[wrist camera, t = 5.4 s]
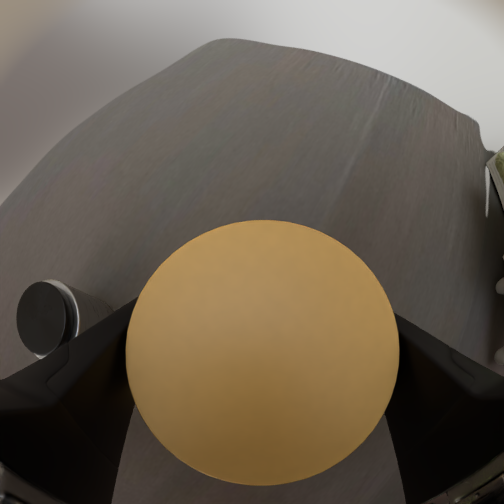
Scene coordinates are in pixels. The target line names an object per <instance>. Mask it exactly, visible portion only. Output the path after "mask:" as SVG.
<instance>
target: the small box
mask: <svg viewBox="0 0 504 504" xmlns="http://www.w3.org/2000/svg"><path fill="white" fill-rule="evenodd" d="M501 152H504V146H503V147H502V148H501V150H500V151H498V152H497V153H496V154H495V155H494V156H493V157H492V158H491V159H490V160H489V161H488V162H487V163H486V165H487V167H488V168H489V170H490V173H491V175H492V178H493V180H494V183H495V185H496V188H497V191H498V194H499V197H500V200H501V203H502V206H503V209H504V184H503V180H502V178H501V177H500V175H499V172H498V171H497V169H496V166H495V158H496V157H497V154H498V153H501Z"/></svg>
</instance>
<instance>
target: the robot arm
mask: <svg viewBox="0 0 504 504" xmlns="http://www.w3.org/2000/svg"><path fill="white" fill-rule="evenodd" d="M138 298H139V297H137V298H136V299H134V300H132V301H131V302H129V303H128V304H126V305H124V306H123V307H121V308H120V309H118V310H117V311H115V312H114V313H112V314H110V315H109V316H107V317H106V318H104V319H103V320H101V321H100V322H98V323H96V324H95V325H93V326H92V327H90V328H89V329H87V330H86V331H84V332H83V333H81V334H79V335H78V336H76V337H75V338H73V339H72V340H70V341H69V342H68V343H66V344H64V345H63V346H61V347H60V348H58V349H57V350H55V351H53V352H52V353H50V354H49V355H47V356H45V357H44V358H42V359H40V360H38V361H37V362H35V363H33V364H31V365H29V366H28V367H26V368H24V369H22V370H20V371H18V372H17V373H15V374H13V375H11V376H9V377H7V378H5V379H2V380H0V504H111V502H112V497H113V492H114V487H115V482H116V477H117V472H118V467H119V463H120V459H121V454H122V450H123V446H124V442H125V438H126V434H127V430H128V426H129V423H130V419H131V415H132V412H133V408H134V405H135V402H134V399H133V396H132V392H131V389H130V386H129V382H128V376H127V370H126V340H127V332H128V327H129V323H130V319H131V316H132V312H133V310H134V307H135V305H136V302H137V300H138ZM393 313H394V312H393ZM394 316H395V320H396V325H397V330H398V337H399V367H398V373H397V379H396V383H395V386H394V390H393V393H392V396H391V399H390V401H389V403H388V406H387V408H386V410H385V416H386V419H387V423H388V426H389V430H390V434H391V437H392V441H393V445H394V449H395V453H396V457H397V461H398V466H399V470H400V475H401V479H402V484H403V489H404V494H405V499H406V504H424V503H426V502H428V501H430V500H432V499H434V498H436V497H438V496H440V495H442V494H444V493H446V494H447V496H448V499H449V502H450V504H504V377H503V376H501V375H499V374H497V373H495V372H493V371H492V370H490V369H488V368H486V367H484V366H482V365H480V364H479V363H477V362H475V361H473V360H471V359H470V358H468V357H466V356H464V355H463V354H461V353H459V352H458V351H456V350H455V349H453V348H451V347H449V346H448V345H446V344H445V343H443V342H442V341H440V340H438V339H437V338H435V337H434V336H432V335H430V334H429V333H427V332H425V331H424V330H422V329H420V328H419V327H417V326H416V325H414V324H412V323H411V322H409V321H407V320H406V319H404V318H402V317H401V316H399V315H397V314H396V313H394Z"/></svg>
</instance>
